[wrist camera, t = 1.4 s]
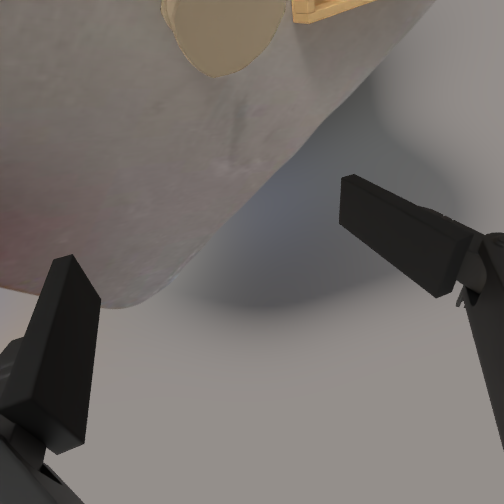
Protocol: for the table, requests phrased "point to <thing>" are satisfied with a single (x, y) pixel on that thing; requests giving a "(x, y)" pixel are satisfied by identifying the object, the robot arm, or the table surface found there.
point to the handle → (222, 31)
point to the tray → (321, 9)
